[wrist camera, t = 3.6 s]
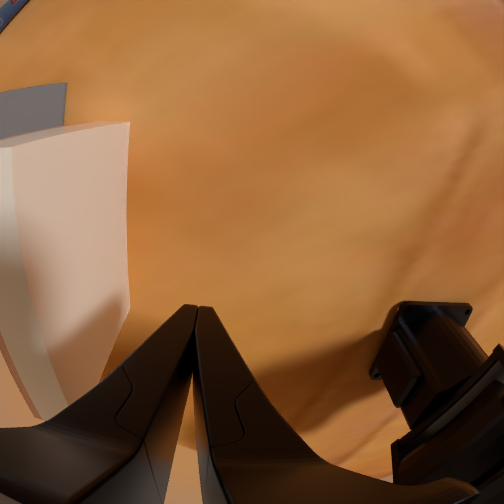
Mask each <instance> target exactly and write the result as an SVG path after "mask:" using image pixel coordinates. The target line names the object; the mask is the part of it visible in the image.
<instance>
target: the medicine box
mask: <svg viewBox="0 0 504 504" xmlns="http://www.w3.org/2000/svg"><path fill="white" fill-rule="evenodd" d="M27 1H28V0H0V32H1V31H2V30H3V29H4V27H5V26H6V25H7V24H8V22H9V21H10V20H11V19H12V18H13V17H14V15H15V14H16V13H17V12H18V11H19V10H20V9H21V8H22V7H23V5H24V4H25V3H26V2H27Z"/></svg>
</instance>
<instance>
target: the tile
mask: <svg viewBox="0 0 504 504" xmlns="http://www.w3.org/2000/svg"><path fill="white" fill-rule="evenodd" d="M129 131H130V122H83V123H77V124H70V125H64V126H59V127H53V128H48V129H43V130H38V131H33V132H28V133H24V134H19V135H15V136H11V137H7V138H3V139H0V350H1V352H2V355H3V357H4V359H5V361H6V363H7V366H8V368H9V370H10V372H11V374H12V376H13V378H14V380H15V382H16V384H17V386H18V388H19V390H20V392H21V394H22V395H23V397H24V399H25V401H26V403H27V405H28V406H29V408H30V410H31V412H32V413H33V415H34V417H36V418H39V419H41V420H44V421H47V420H49V419H51V418H52V417H54V416H55V415H56V414H58V413H59V412H61V411H62V410H63V409H65V408H66V407H68V406H69V405H70V404H72V403H73V402H75V401H76V400H77V399H79V398H80V397H82V396H83V395H84V394H86V393H87V392H88V391H90V390H91V389H92V388H93V387H95V386H96V385H97V384H99V381H100V378H101V376H102V373H103V371H104V368H105V366H106V363H107V361H108V358H109V356H110V354H111V351H112V349H113V346H114V344H115V342H116V339H117V337H118V335H119V332H120V330H121V328H122V325H123V323H124V321H125V319H126V316H127V314H128V312H129V310H130V298H129V284H128V266H127V236H126V191H127V162H128V144H129Z"/></svg>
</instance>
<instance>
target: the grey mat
mask: <svg viewBox="0 0 504 504" xmlns="http://www.w3.org/2000/svg"><path fill="white" fill-rule="evenodd" d="M66 87H67V83H58V84H49V85H42V86H35V87H28V88H22V89H16V90H11V91H6V92H1V93H0V139H3V138H7V137H11V136H15V135H19V134H24V133H28V132H33V131H38V130H43V129H48V128H53V127H59V126H63V125H64V109H65V97H66Z"/></svg>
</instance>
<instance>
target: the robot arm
mask: <svg viewBox="0 0 504 504" xmlns="http://www.w3.org/2000/svg"><path fill="white" fill-rule="evenodd" d="M408 308H409V309H408ZM407 309H408V310H407ZM472 309H473V308H472V306H471V305H470V304H469V303H448V302H421V301H406V302H404V303H403V304H402V305H401V306H400V308H399V310H398V312H397V314H396V317H395V319H394V321H393V324H392V326H391V328H390V330H389V332H388V335H387V337H386V339H385V341H384V343H383V345H382V347H381V349H380V351H379V353H378V355H377V357H376V359H375V361H374V363H373V365H372V367H371V369H370V371H369V376H370V378H371V379H372V380H383V382H384V384H385V386H386V388H387V390H388V393H389V395H390V397H391V399H392V402H393V404H394V405H395V407H396V408H401V410H402V413H403V415H404V417H405V419H406V421H407V424H408V426H409V428H410V430H411V431H410V432H408V433H407V434H406V435H404V436H403V437H402V438H401V439H397V440H396V441H394V442H393V443H392V444H391V455H392V469H393V483H390V482H386V481H383V480H379V479H376V478H372V477H369V476H366V475H362V474H359V473H356V472H353V471H350V470H347V469H344V468H341V467H338V466H335V465H333V464H331V463H329V462H327V461H325V460H324V459H322V458H321V457H320V456H318V455H317V454H316V453H315V452H314V451H313V450H312V449H311V448H310V447H309V446H308V445H307V444H306V443H305V442H304V441H303V439H302V438H301V437H300V436H299V435H298V434H297V433H296V432H295V431H294V429H293V428H292V427H291V426H290V425H289V424H288V423H287V422H286V421H285V419H284V418H283V417H282V416H281V415H280V413H279V412H278V411H277V410H276V409H275V407H274V406H273V405H272V404H271V402H270V401H269V399H268V398H267V396H266V395H265V393H264V392H263V390H262V389H261V387H260V386H259V384H258V382H257V381H255V378H254V376H253V375H252V373H251V371H250V370H249V368H248V366H247V365H246V363H245V361H244V360H243V358H242V356H241V355H240V353H239V351H238V350H237V348H236V346H235V345H234V343H233V341H232V340H231V338H230V336H229V334H228V333H227V331H226V329H225V328H224V326H223V324H222V322H221V321H220V319H219V317H218V315H217V314H216V312H215V310H214V308H213V307H208V306H199V307H198V306H197V305H190V304H184V305H183V306H182V307H180V308H179V309H178V310H177V311H176V312H175V313H174V314H173V315H172V316H171V317H170V318H169V319H168V320H167V321H166V322H164V323H163V324H162V325H161V326H160V327H159V328H158V329H157V330H156V331H155V332H154V333H153V334H152V335H151V336H150V337H148V338H147V339H146V340H145V341H144V342H143V343H142V344H141V345H140V346H139V347H138V348H137V349H136V350H135V351H134V352H133V353H131V354H130V355H129V356H128V357H127V358H126V359H125V360H124V361H123V362H122V363H121V365H119V366H118V367H116V368H115V369H114V370H113V371H112V372H111V373H110V374H109V375H108V376H107V377H106V378H104V379H103V380H102V381H101V382H100V383H99V384H97V385H96V386H95V387H93V388H92V389H91V390H90V391H88V392H87V393H86V394H84V395H83V396H82V397H80V398H79V399H77V400H76V401H75V402H73V403H72V404H70V405H69V406H68V407H66V408H65V409H63V410H62V411H61V412H59V413H58V414H56V415H55V416H54V417H52V418H51V419H49V420H47V421H45V422H43V423H41V424H38V425H35V426H31V427H17V428H0V504H164V500H165V495H166V491H167V485H168V481H169V476H170V471H171V467H172V463H173V458H174V453H175V449H176V445H177V440H178V436H179V431H180V427H181V423H182V418H183V414H184V410H185V405H186V401H187V397H188V393H189V388H190V384H191V379H192V373H193V399H194V415H195V429H196V442H197V453H198V464H199V474H200V484H201V493H202V501H203V504H504V347H503V346H502V345H501V344H498V345H497V346H496V347H495V348H494V350H493V353H492V354H491V355H490V356H489V357H488V356H487V354H486V353H485V352H484V351H483V349H482V348H481V347H480V345H479V344H478V343H477V342H476V340H475V339H474V338H473V337H472V335H471V334H470V333H469V332H468V331H467V329H466V328H465V327H464V326H465V324H466V322H467V321H468V319H469V317H470V315H471V313H472ZM406 310H407V311H406Z"/></svg>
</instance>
